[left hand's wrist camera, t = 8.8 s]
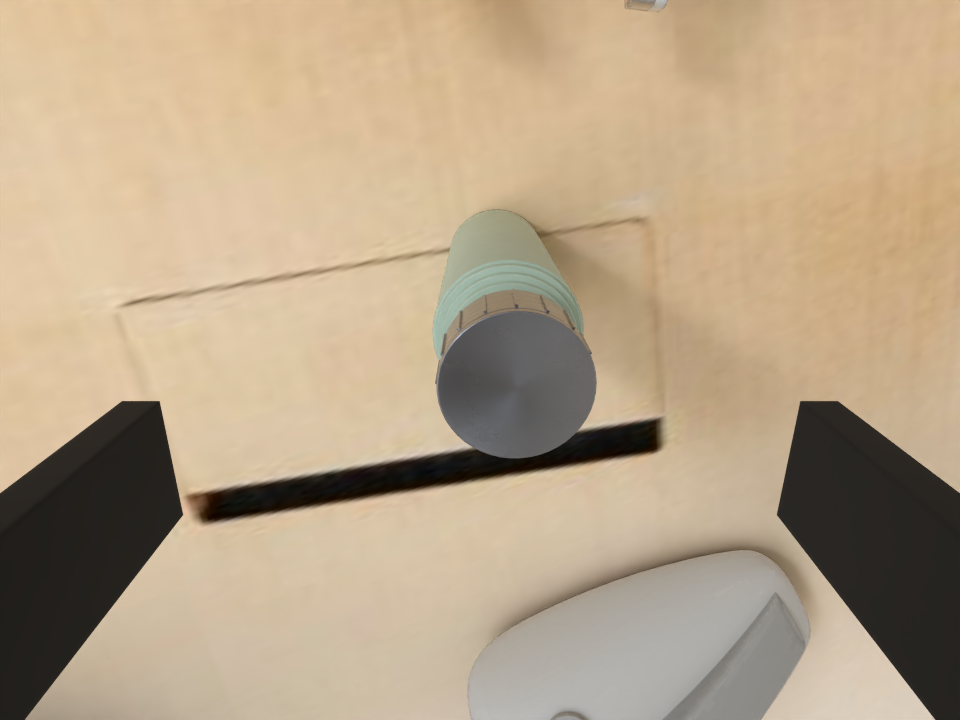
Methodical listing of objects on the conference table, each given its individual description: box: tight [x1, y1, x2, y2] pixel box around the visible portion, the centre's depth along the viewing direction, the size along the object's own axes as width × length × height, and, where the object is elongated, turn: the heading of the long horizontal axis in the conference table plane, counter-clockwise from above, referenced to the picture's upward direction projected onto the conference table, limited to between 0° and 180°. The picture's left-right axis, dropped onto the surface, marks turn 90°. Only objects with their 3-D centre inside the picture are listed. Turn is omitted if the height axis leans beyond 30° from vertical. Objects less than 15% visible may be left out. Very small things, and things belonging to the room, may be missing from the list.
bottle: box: [433, 210, 583, 360], centre depth 26 cm, size 5×5×19 cm
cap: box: [435, 289, 597, 458], centre depth 18 cm, size 5×5×2 cm
